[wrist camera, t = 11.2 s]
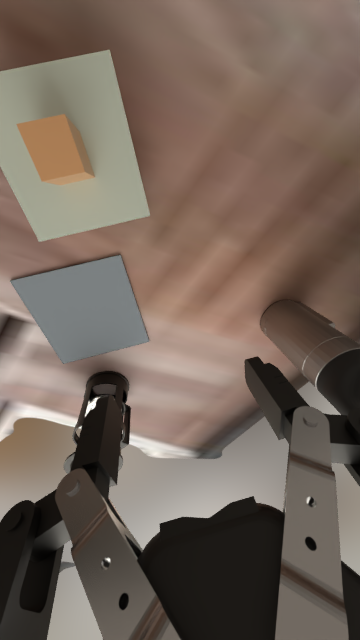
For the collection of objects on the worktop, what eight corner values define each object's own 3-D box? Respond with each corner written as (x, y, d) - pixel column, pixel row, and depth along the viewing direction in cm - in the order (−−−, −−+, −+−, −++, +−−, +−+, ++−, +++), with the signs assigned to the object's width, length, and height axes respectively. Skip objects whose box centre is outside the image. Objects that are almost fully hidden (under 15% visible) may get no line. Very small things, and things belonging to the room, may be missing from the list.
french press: (74, 386, 47) (26, 522, 27) (103, 362, 45) (73, 489, 25) (115, 409, 52) (100, 535, 32) (142, 388, 50) (144, 508, 30)
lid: (111, 57, 20) (100, 5, 15) (149, 215, 27) (152, 218, 22) (-35, 86, 20) (-100, 43, 14) (43, 240, 27) (19, 249, 22)
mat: (120, 254, 35) (120, 255, 34) (149, 340, 44) (149, 341, 44) (11, 280, 34) (9, 281, 34) (63, 362, 43) (62, 363, 43)
